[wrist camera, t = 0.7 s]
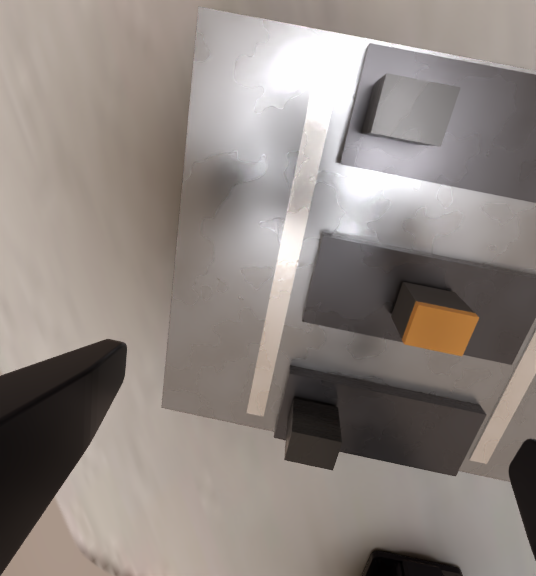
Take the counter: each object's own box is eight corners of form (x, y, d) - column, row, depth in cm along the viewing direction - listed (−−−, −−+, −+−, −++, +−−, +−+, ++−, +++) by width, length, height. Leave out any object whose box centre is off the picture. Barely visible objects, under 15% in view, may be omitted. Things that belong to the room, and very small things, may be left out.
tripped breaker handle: (441, 327, 18) (462, 356, 15) (391, 316, 18) (404, 344, 16) (455, 292, 17) (479, 317, 15) (403, 281, 17) (418, 305, 15)
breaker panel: (549, 472, 23) (609, 554, 19) (169, 392, 24) (137, 452, 19) (768, 124, 16) (958, 119, 11) (207, 17, 16) (168, -30, 12)
